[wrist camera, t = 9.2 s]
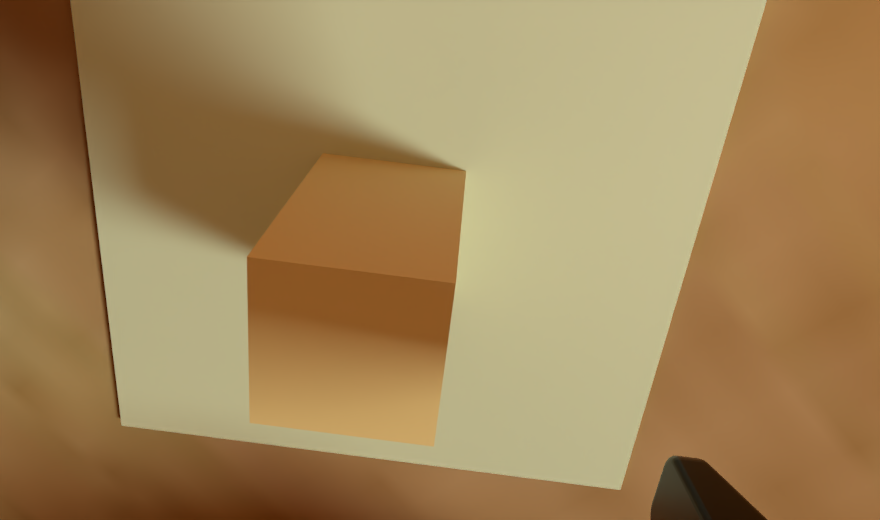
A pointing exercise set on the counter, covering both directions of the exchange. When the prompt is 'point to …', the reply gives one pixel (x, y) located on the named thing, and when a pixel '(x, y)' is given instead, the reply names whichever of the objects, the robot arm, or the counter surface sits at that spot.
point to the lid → (404, 217)
